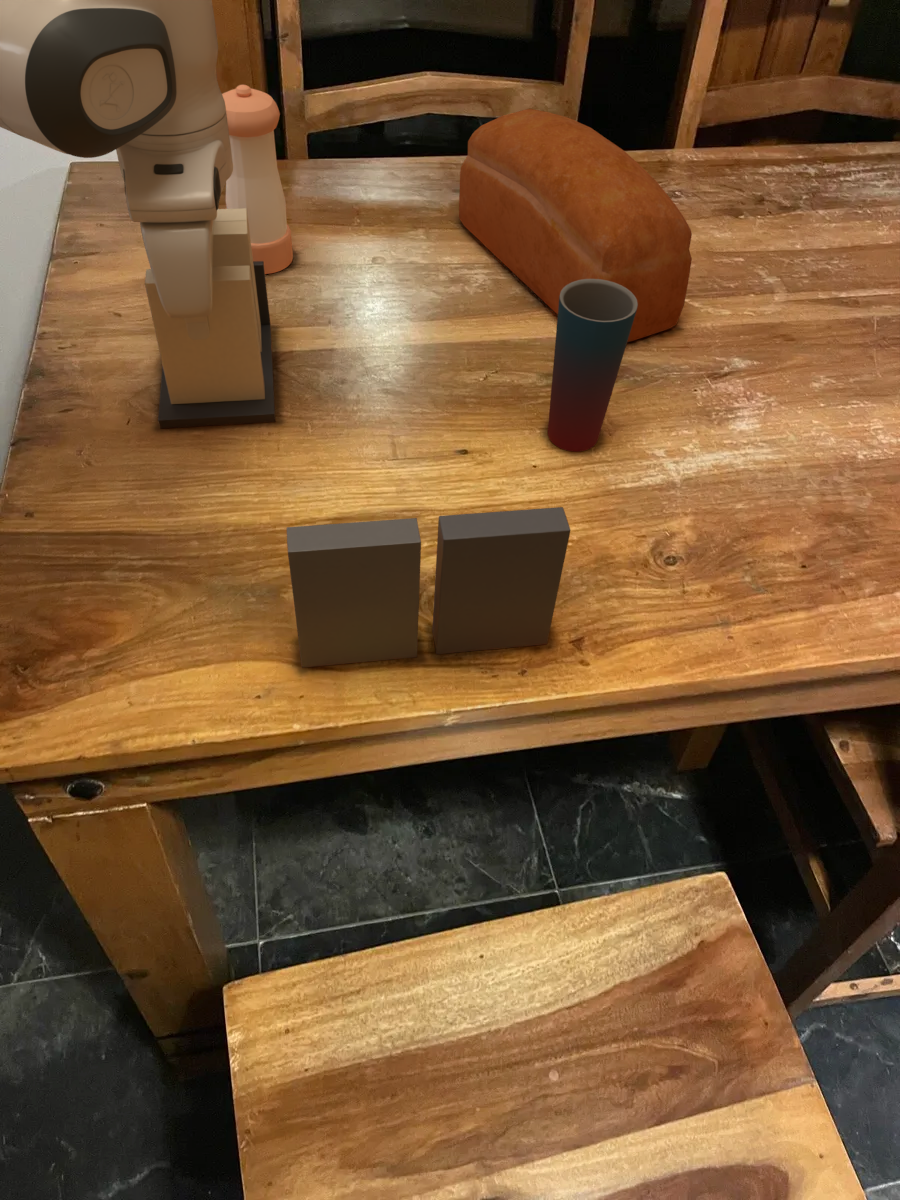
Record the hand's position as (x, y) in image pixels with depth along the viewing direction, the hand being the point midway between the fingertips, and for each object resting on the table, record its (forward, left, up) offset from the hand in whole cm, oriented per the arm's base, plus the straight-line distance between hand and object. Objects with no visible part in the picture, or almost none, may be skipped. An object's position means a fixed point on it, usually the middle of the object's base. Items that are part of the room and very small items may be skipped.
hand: (200, 305), depth 84 cm
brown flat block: (0, 0, -10) cm, 10 cm away
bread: (+18, +43, -11) cm, 48 cm away
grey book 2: (+37, -12, -11) cm, 40 cm away
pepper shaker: (-13, +25, -11) cm, 30 cm away
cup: (+32, +15, -11) cm, 37 cm away
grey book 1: (+29, -19, -11) cm, 36 cm away
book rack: (-3, +4, -11) cm, 12 cm away
